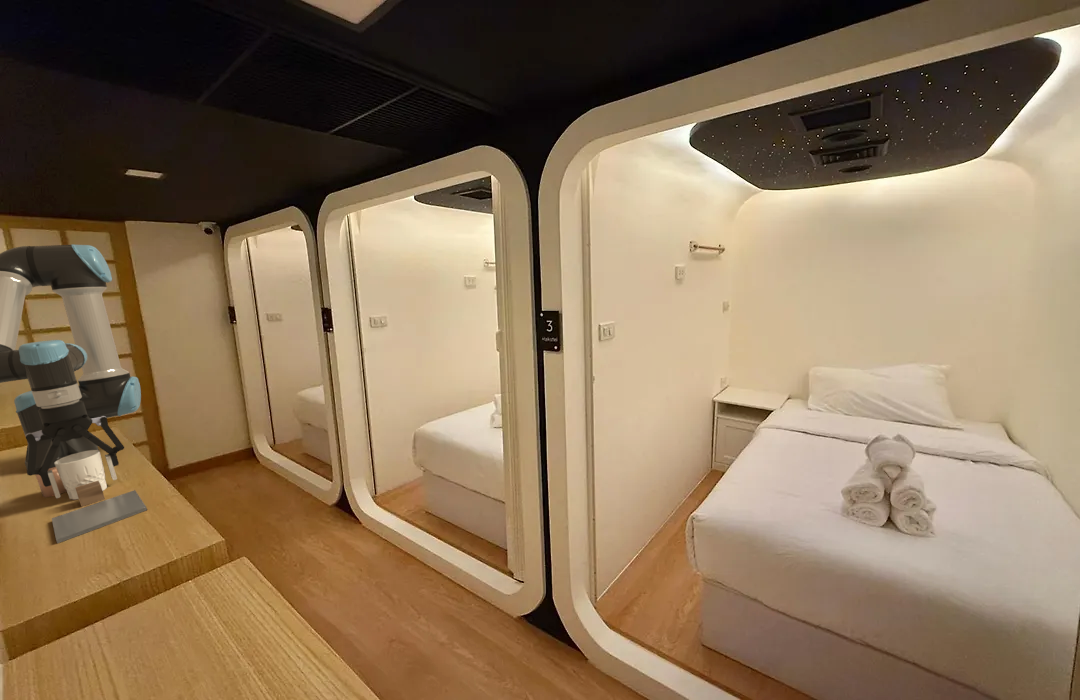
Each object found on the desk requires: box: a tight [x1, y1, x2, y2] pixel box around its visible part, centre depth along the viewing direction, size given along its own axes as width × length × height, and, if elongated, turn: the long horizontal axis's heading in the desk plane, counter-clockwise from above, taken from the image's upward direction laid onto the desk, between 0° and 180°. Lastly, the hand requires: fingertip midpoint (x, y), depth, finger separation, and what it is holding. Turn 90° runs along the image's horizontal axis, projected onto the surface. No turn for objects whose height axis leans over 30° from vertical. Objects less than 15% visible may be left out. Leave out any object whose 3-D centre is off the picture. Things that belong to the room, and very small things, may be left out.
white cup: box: [54, 449, 108, 500], centre depth 107 cm, size 8×8×10 cm
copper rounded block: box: [35, 467, 67, 498], centre depth 110 cm, size 5×5×6 cm
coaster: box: [51, 489, 148, 544], centre depth 97 cm, size 14×14×1 cm
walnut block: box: [75, 481, 106, 508], centre depth 104 cm, size 4×4×4 cm
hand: (87, 486), depth 108 cm, fingers open, 9 cm apart
